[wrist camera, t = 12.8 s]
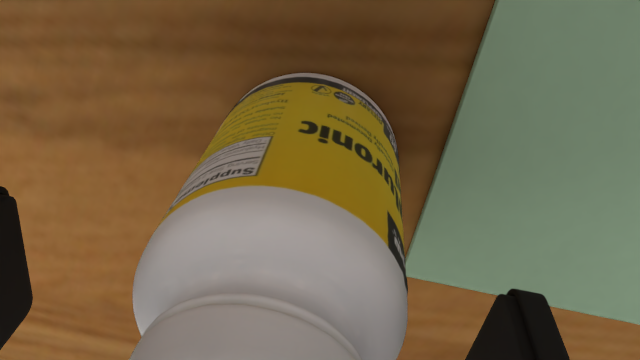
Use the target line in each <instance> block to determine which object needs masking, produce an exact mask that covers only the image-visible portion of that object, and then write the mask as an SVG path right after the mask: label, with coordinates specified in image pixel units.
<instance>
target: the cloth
mask: <svg viewBox="0 0 640 360" xmlns="http://www.w3.org/2000/svg"><path fill="white" fill-rule="evenodd" d="M405 267H406V276H407V277H411V278H416V279H421V280H426V281H431V282H436V283H440V284H445V285H450V286H455V287H460V288H465V289H470V290H474V291H479V292H484V293H489V294H494V295H499V294H505V295H506V294H507V292H508V291H509V290H510V289H519V290H524V291H529V292H534V293H539V294H542V295H544V296H545V298H546V300H547V302H548V304H549V306H552V307H557V308H562V309H566V310H571V311H576V312H581V313H586V314H591V315H595V316H600V317H605V318H610V319H615V320H620V321H624V322H629V323H634V324H639V325H640V0H496V1H495V3H494V6H493V9H492V12H491V15H490V18H489V21H488V23H487V26H486V29H485V32H484V35H483V38H482V41H481V44H480V46H479V49H478V52H477V55H476V58H475V61H474V64H473V66H472V69H471V72H470V75H469V78H468V81H467V84H466V87H465V89H464V92H463V95H462V98H461V101H460V104H459V107H458V109H457V112H456V115H455V118H454V121H453V124H452V127H451V129H450V132H449V135H448V138H447V141H446V144H445V147H444V150H443V152H442V155H441V158H440V161H439V164H438V167H437V170H436V172H435V175H434V178H433V181H432V184H431V187H430V190H429V193H428V195H427V198H426V201H425V204H424V207H423V210H422V213H421V215H420V218H419V221H418V224H417V227H416V230H415V233H414V235H413V238H412V241H411V244H410V247H409V250H408V253H407V256H406V258H405Z"/></svg>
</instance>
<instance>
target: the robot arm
mask: <svg viewBox="0 0 640 360" xmlns="http://www.w3.org/2000/svg"><path fill="white" fill-rule="evenodd" d="M32 300H33V297H32V290H31V284H30V278H29V273H28V267H27V261H26V255H25V250H24V244H23V238H22V232H21V227H20V221H19V215H18V209H17V204H16V200H15V199H14V198H13V197H11V196H9V193H8V191H7V190H6V189H5V188H4V187H1V186H0V350H1V348H2V347H3V346H4V344H5V343H6V342H7V340H8V339H9V338H10V337H11V335H12V334H13V333H14V331H15V330H16V329H17V327H18V326H19V325H20V323H21V322H22V321H23V320H24V318H25V317H26V316H27V314H28V312H29V310H30V308H31V305H32ZM465 360H570V359H569V356H568V354H567V351H566V348H565V346H564V343H563V341H562V338H561V335H560V333H559V330H558V328H557V325H556V322H555V320H554V317H553V315H552V312H551V310H550V307H549V304H548V302H547V300H546V298H545V296H544V295H542V294H539V293H534V292H529V291H524V290H519V289H510V290H509V291H508V292H507V294H506V295H505V294H499V295H498V296H497V298H496V300H495V302H494V304H493V306H492V308H491V310H490V312H489V314H488V316H487V318H486V320H485V321H484V323H483V325H482V327H481V329H480V331H479V333H478V335H477V337H476V339H475V341H474V343H473V345H472V347H471V349H470V351H469V353H468V355H467V357H466V359H465Z"/></svg>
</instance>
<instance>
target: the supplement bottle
mask: <svg viewBox="0 0 640 360" xmlns="http://www.w3.org/2000/svg"><path fill="white" fill-rule="evenodd" d="M407 292H408V286H407V278H406V267H405V251H404V238H403V221H402V203H401V187H400V168H399V156H398V151H397V145H396V141H395V137H394V134H393V131H392V129H391V126H390V124H389V122H388V120H387V119H386V117H385V115H384V114H383V112H382V111H381V110H380V108H379V107H378V106H377V105H376V104H375V103H374V102H373V100H372V99H370V98H369V97H368V96H367V95H366V94H364V93H363V92H362V91H360V90H359V89H358V88H356V87H354V86H352V85H351V84H349V83H347V82H345V81H342V80H340V79H337V78H334V77H331V76H327V75H322V74H316V73H296V74H288V75H283V76H280V77H276V78H273V79H271V80H268V81H266V82H264V83H262V84H260V85H258V86H257V87H255V88H254V89H252V90H251V91H250V92H249V93H247V94H246V95H245V96H244V97H243V98H242V99H241V100H240V101H239V102H238V103H237V104H236V105H235V106H234V108H233V109H232V110H231V111H230V113H229V114H228V115H227V117H226V119H225V121H224V122H223V124H222V125H221V127H220V128H219V130H218V131H217V133H216V135H215V136H214V138H213V140H212V141H211V143H210V144H209V146H208V147H207V149H206V151H205V152H204V154H203V155H202V157H201V159H200V160H199V162H198V163H197V165H196V167H195V168H194V170H193V171H192V173H191V175H190V176H189V178H188V179H187V181H186V182H185V184H184V186H183V187H182V189H181V190H180V192H179V194H178V195H177V197H176V199H175V200H174V202H173V203H172V205H171V206H170V208H169V210H168V211H167V213H166V214H165V216H164V217H163V219H162V220H161V222H160V224H159V225H158V227H157V228H156V230H155V231H154V233H153V235H152V237H151V239H150V241H149V242H148V244H147V246H146V248H145V250H144V252H143V254H142V256H141V259H140V261H139V263H138V266H137V270H136V273H135V278H134V283H133V310H134V315H135V319H136V323H137V326H138V329H139V331H140V334H141V336H142V337H141V339H140V341H139V342H138V344H137V346H136V347H135V349H134V351H133V353H132V355H131V357H130V359H129V360H396V359H397V357H398V354H399V352H400V350H401V347H402V345H403V341H404V337H405V333H406V327H407V305H408V303H407Z"/></svg>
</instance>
